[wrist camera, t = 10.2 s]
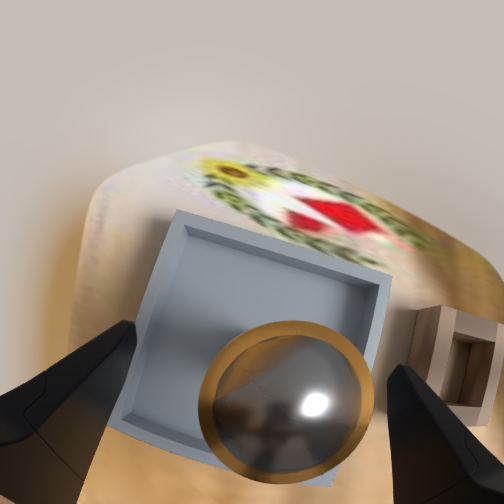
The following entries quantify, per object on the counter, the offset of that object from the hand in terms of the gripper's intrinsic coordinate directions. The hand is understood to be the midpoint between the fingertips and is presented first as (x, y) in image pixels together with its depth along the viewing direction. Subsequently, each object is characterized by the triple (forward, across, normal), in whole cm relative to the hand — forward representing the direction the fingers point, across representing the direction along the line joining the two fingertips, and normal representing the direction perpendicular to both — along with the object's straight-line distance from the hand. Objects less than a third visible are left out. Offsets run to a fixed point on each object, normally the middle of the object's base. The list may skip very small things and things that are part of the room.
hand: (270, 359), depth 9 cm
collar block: (+6, -15, +7) cm, 18 cm away
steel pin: (+6, 0, +7) cm, 9 cm away
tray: (+6, 0, +7) cm, 10 cm away
